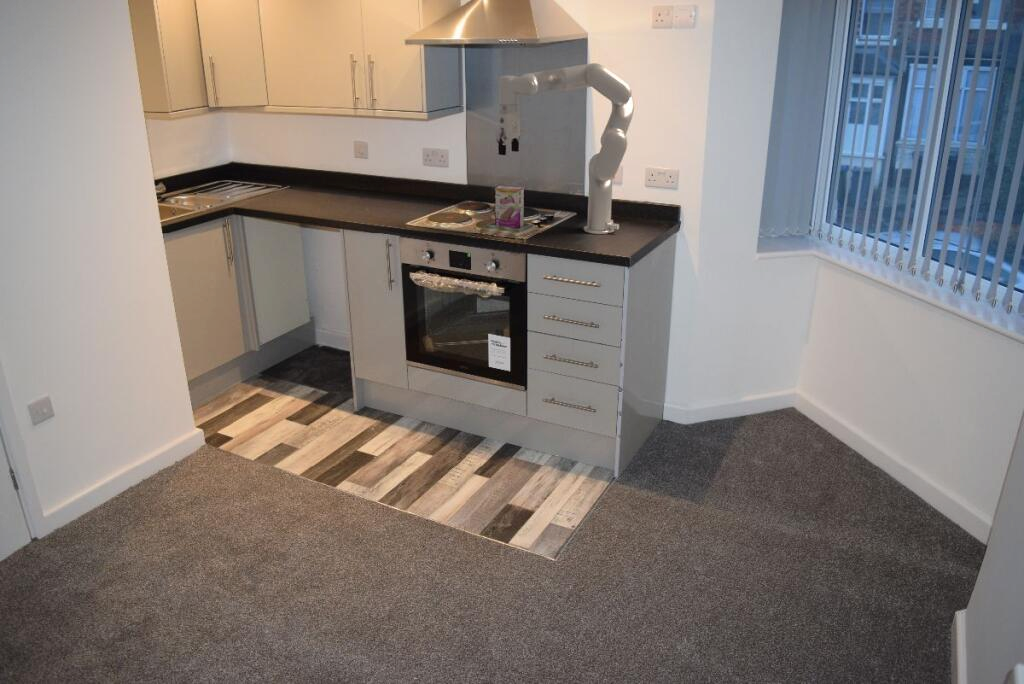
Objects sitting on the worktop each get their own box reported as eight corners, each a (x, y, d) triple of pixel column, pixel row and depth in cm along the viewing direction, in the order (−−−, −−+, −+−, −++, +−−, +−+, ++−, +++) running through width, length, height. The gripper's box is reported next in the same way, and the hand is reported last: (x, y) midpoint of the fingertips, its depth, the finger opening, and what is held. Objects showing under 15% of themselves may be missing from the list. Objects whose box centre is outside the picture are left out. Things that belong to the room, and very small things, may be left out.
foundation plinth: (538, 230, 341) (538, 222, 340) (516, 239, 328) (516, 231, 327) (501, 224, 350) (501, 217, 349) (479, 233, 337) (479, 226, 335)
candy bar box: (494, 227, 337) (494, 188, 331) (498, 224, 342) (497, 185, 336) (520, 229, 334) (520, 189, 328) (524, 226, 339) (524, 187, 333)
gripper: (505, 111, 312) (505, 157, 318) (527, 107, 325) (527, 150, 332) (488, 110, 315) (489, 155, 322) (511, 106, 329) (512, 149, 335)
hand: (508, 153), depth 327 cm, fingers open, 9 cm apart
